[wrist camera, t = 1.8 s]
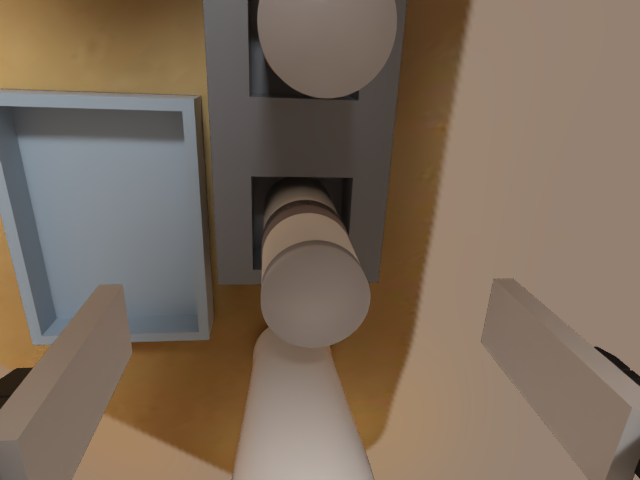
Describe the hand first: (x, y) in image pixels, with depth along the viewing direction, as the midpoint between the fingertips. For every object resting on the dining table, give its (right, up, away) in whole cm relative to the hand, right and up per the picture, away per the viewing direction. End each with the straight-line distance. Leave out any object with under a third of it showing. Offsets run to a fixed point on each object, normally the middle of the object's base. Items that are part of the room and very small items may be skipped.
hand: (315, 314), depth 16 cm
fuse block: (-1, +9, +10) cm, 13 cm away
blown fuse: (-1, +5, +10) cm, 11 cm away
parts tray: (-12, +4, +10) cm, 16 cm away
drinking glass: (-2, -5, +15) cm, 16 cm away
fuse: (-1, +13, +7) cm, 15 cm away
